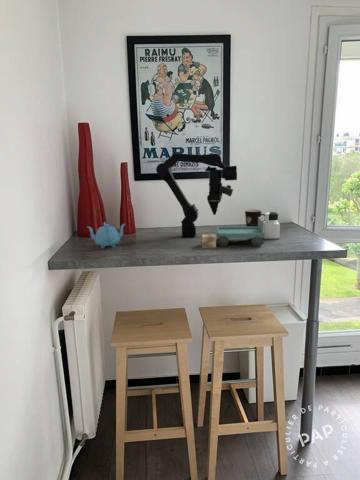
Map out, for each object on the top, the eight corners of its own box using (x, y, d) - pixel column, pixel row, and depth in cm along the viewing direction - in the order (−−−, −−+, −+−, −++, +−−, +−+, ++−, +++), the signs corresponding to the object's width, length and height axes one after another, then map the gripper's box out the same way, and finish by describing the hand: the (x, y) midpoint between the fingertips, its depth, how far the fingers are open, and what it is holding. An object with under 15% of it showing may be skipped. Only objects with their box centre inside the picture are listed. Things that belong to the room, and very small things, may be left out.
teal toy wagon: (217, 246, 158) (217, 222, 156) (216, 239, 172) (216, 216, 169) (263, 246, 156) (264, 222, 154) (259, 238, 170) (259, 216, 167)
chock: (202, 248, 157) (202, 237, 156) (202, 245, 162) (202, 234, 161) (216, 248, 157) (216, 236, 156) (215, 245, 162) (215, 234, 160)
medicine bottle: (277, 235, 176) (278, 211, 174) (279, 238, 170) (280, 213, 167) (262, 235, 177) (263, 211, 174) (264, 238, 170) (264, 213, 167)
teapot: (108, 251, 156) (107, 228, 153) (86, 247, 162) (84, 225, 160) (127, 244, 167) (126, 222, 164) (106, 241, 173) (104, 220, 171)
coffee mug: (241, 228, 194) (242, 209, 192) (255, 226, 197) (256, 208, 194) (252, 232, 184) (252, 213, 181) (266, 230, 186) (267, 211, 184)
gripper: (231, 182, 160) (231, 216, 164) (232, 178, 178) (232, 209, 182) (207, 182, 162) (207, 216, 166) (210, 179, 180) (210, 209, 183)
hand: (215, 213), depth 174 cm, fingers open, 9 cm apart
